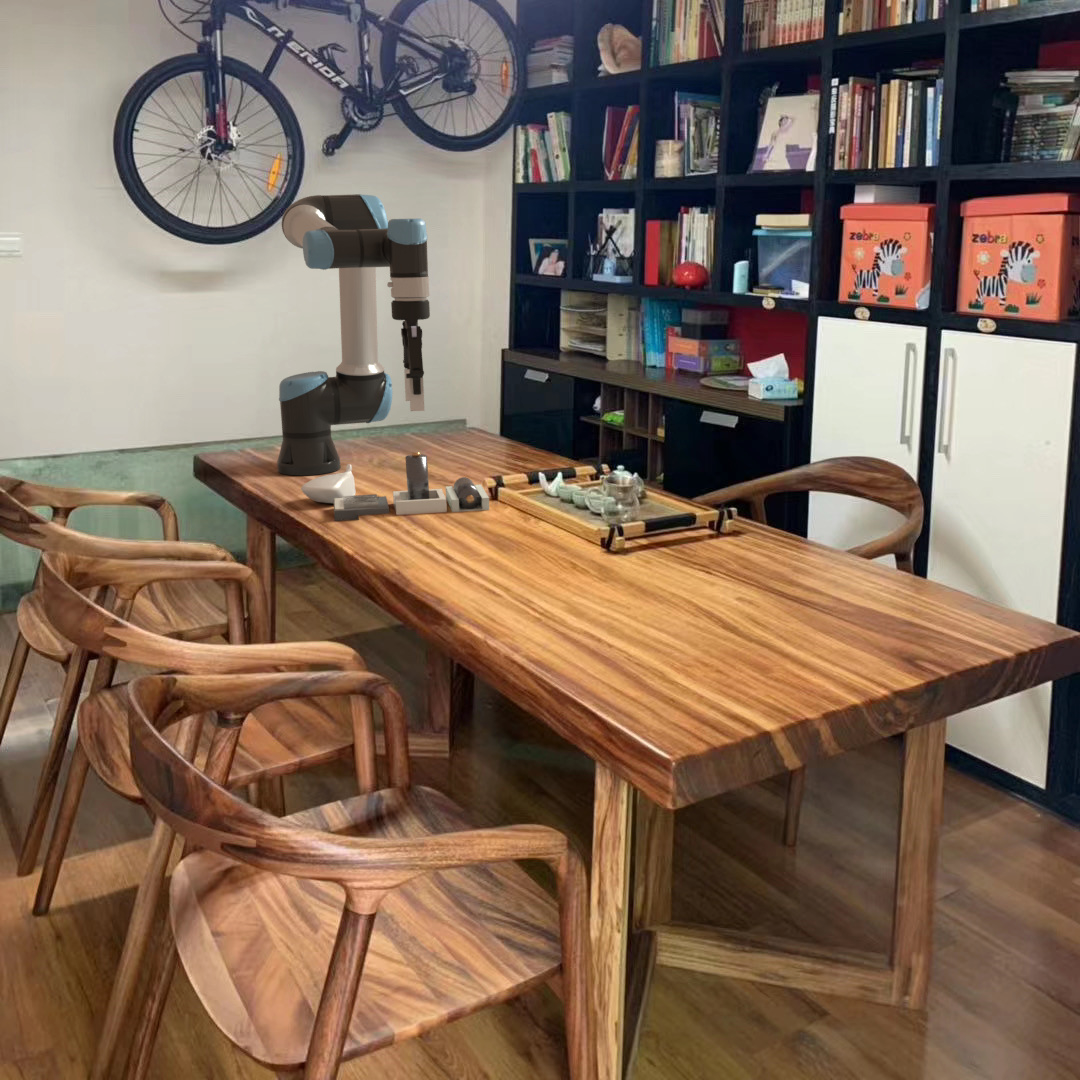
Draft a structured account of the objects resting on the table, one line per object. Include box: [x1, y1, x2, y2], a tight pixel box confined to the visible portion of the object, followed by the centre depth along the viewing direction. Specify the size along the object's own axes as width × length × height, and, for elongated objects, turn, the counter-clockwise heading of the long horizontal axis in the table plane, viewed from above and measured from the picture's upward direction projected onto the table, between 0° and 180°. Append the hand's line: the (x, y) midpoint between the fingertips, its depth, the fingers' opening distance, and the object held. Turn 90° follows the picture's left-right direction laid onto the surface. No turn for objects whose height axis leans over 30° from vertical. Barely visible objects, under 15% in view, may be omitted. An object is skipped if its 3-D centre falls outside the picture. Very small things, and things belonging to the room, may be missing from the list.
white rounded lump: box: [300, 463, 357, 504], centre depth 260 cm, size 10×11×12 cm
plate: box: [343, 493, 378, 508], centre depth 248 cm, size 7×7×1 cm
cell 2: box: [453, 477, 481, 509], centre depth 251 cm, size 12×4×4 cm, turn 10°
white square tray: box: [392, 488, 448, 516], centre depth 249 cm, size 10×10×4 cm
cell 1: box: [404, 451, 430, 500], centre depth 248 cm, size 4×4×12 cm
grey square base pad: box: [333, 495, 390, 522], centre depth 249 cm, size 11×11×2 cm
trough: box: [445, 484, 490, 513], centre depth 251 cm, size 13×8×3 cm, turn 10°
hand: (414, 405), depth 244 cm, fingers open, 13 cm apart
